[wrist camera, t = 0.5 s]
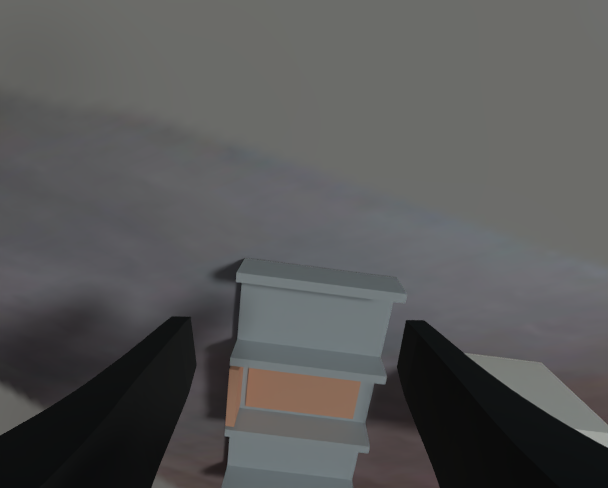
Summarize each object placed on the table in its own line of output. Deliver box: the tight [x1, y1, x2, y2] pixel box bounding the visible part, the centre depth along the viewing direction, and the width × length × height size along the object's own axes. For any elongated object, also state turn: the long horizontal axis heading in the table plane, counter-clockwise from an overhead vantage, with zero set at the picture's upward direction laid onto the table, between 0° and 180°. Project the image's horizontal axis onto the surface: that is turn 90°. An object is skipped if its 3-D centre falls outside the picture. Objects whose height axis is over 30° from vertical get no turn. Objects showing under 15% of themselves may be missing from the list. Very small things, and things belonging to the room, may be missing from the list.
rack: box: [222, 258, 407, 488], centre depth 22 cm, size 18×10×2 cm, turn 173°
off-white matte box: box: [464, 353, 608, 448], centre depth 20 cm, size 4×7×6 cm, turn 83°
